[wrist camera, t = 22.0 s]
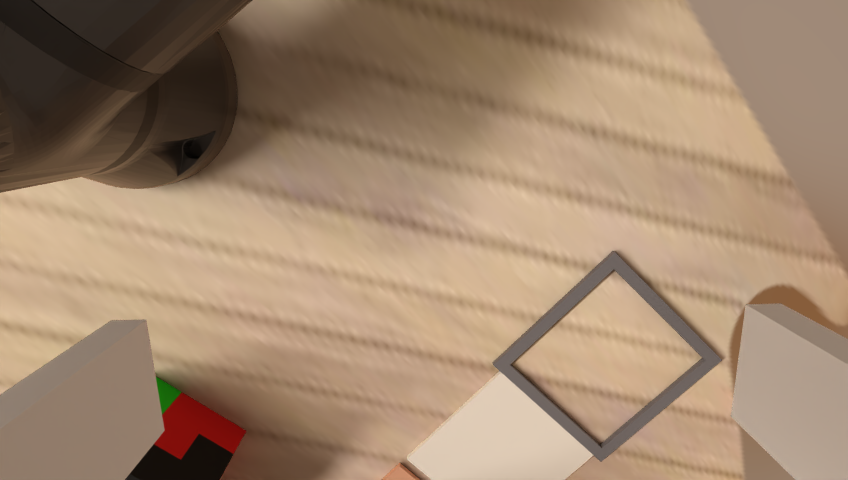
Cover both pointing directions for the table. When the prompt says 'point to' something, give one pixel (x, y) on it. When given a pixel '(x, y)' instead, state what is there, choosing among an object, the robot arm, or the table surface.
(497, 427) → the game board
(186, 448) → the puzzle toy
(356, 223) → the table surface
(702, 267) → the table surface
